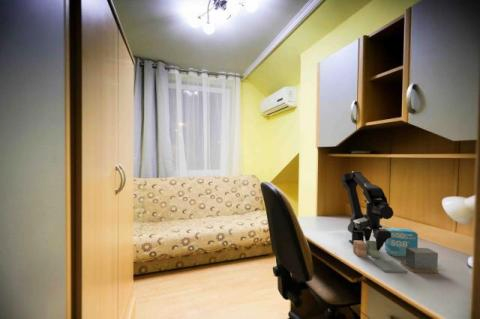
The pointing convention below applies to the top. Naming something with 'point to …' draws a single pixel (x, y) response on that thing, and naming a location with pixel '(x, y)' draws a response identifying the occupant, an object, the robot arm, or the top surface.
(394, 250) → the data package
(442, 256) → the top surface
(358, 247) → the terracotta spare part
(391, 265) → the pad
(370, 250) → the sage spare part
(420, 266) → the mounted unit
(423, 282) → the top surface
